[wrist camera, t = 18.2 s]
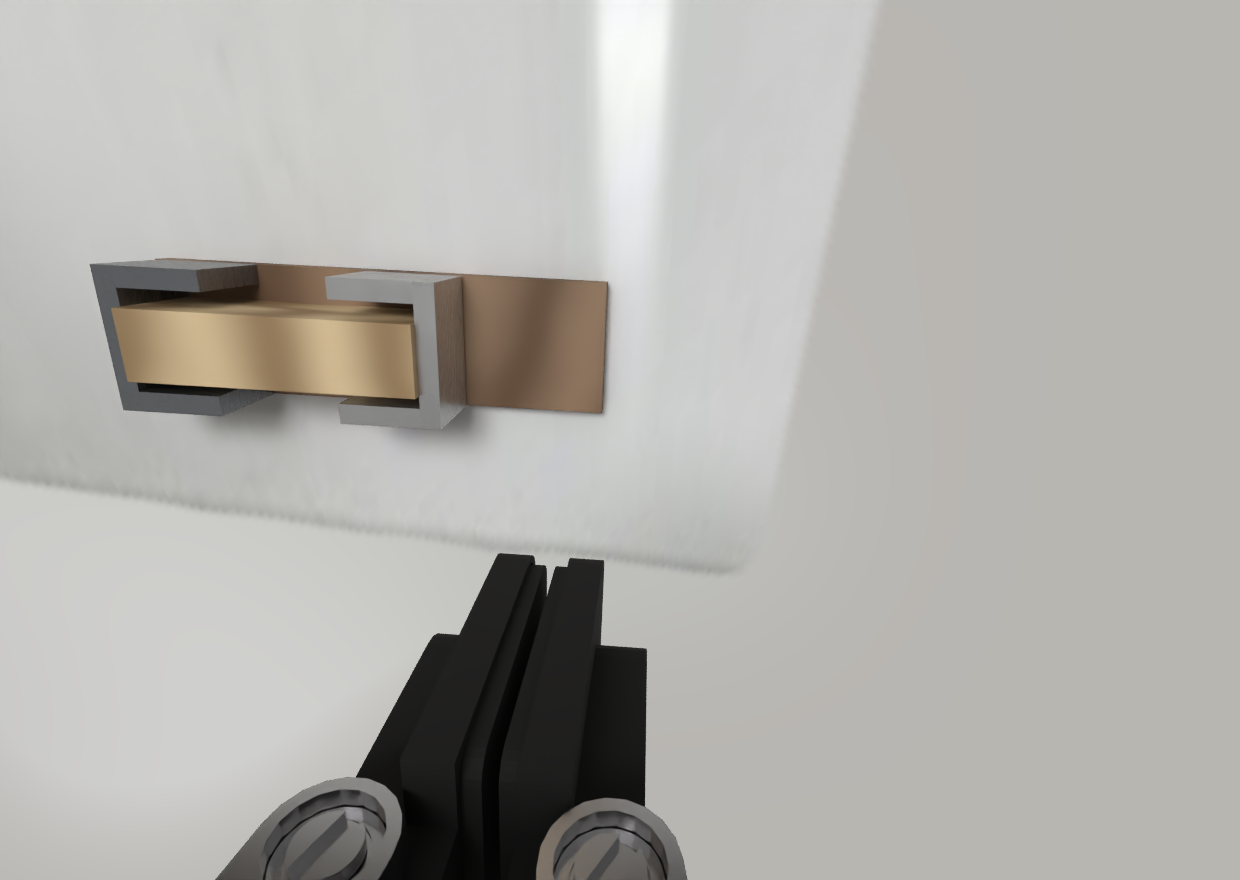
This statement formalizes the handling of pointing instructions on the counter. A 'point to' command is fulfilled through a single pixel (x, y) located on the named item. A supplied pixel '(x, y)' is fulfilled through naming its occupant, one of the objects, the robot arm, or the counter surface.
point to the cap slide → (434, 347)
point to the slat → (270, 346)
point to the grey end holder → (164, 283)
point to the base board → (488, 332)
